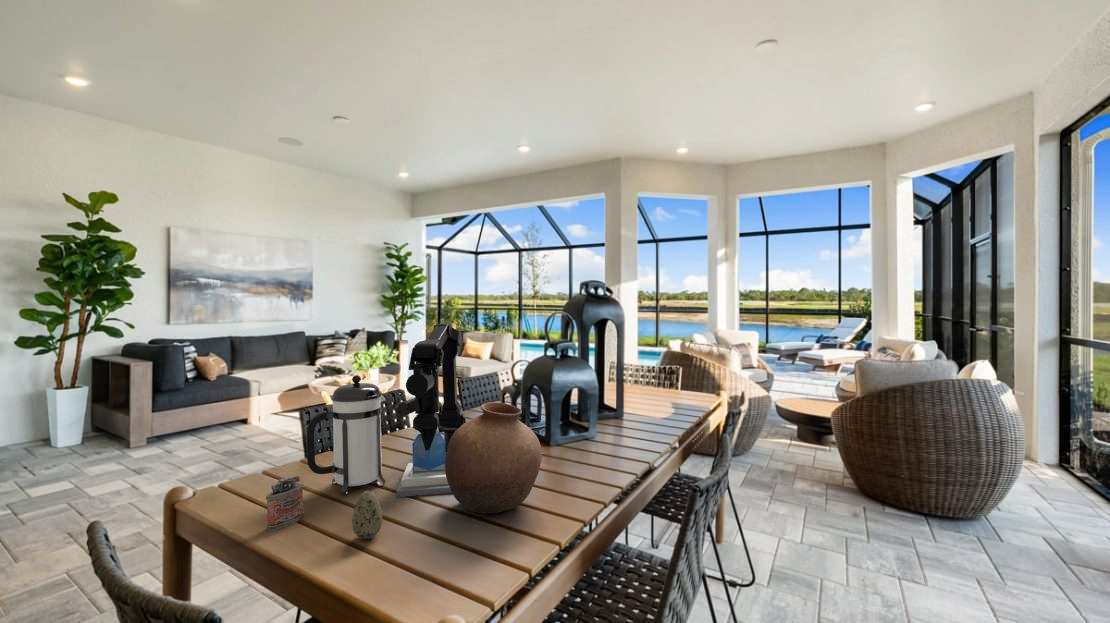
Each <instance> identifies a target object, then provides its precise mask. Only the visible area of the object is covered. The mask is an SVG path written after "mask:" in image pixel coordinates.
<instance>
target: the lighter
mask: <svg viewBox="0 0 1110 623" xmlns="http://www.w3.org/2000/svg"><path fill="white" fill-rule="evenodd" d="M298 482H301V477H300V475H298V474H297V475H293V476H290V477H288V478H280V479H279V480H278V481H277V482H274V483H271V489H272V490H271V492H269V493H267V494H266V495H265V498H266V505H267V507H266V510H267V513H266V514H267V524H266V530H268V531H275V530H279V529H281V528H284V527H287V526H290V525H293V524H294V523H297V522H299V521H300V519H301V520H303V519H304V518H305V512H304V492H303V490H304V484H302V483H298ZM295 483H297V484H295ZM303 517H304V518H303ZM302 518H303V519H302ZM298 520H299V521H298ZM289 524H290V525H289Z"/></svg>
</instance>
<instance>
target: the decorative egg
mask: <svg viewBox="0 0 1110 623" xmlns="http://www.w3.org/2000/svg"><path fill="white" fill-rule="evenodd" d="M382 524H383V512H382V507H381V504H380V502H379V499H378V496H376V494H375V493H374V492H373V491H372V490H371V491H370V490H365V491H363V492H362V493H361V494H360V495H359V497H358V498H357V500H356V502H355V505H354V509H353V512H352V517H351V525H352V530H353V533H354V534H355V535H356V537H358V538H359V539H362V540H369V539H372V538H374V537H375V536H376V535H377V534H378V533H379V531H380V530H381V527H382Z"/></svg>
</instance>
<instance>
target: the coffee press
mask: <svg viewBox="0 0 1110 623" xmlns="http://www.w3.org/2000/svg"><path fill="white" fill-rule="evenodd" d="M361 380H362V378H361V376H360V375H358V374H357V375H353V376H352V379H351V381H352V382H353V383H349V384H344V385H340V386H338V387H336V389H334V391H333V393H332V395H330V400H331V402H332V409H331V411H329V412H325V411H324V412H321V413H318V414H316V415H314V416H313V417H312V418H311V419H310V421H309V423H308V424H307V428H306V433H305V434H306V437H305V438H306V440H305V441H306V462H307V465H308V468H309V469H310V471H311V472H313V473H315V474H318V475H327V474H334V477H333V479H331V483H332V484H333V482H335V481H336V482H337V484H338V485H340V486H342V487H341V491H340V492H341V495H346V492H349V493H350V490H351V489H352V487H359V486H364V485H367V484H370V483H375V484H376V485H378V486H379V487H383V485H385V484H386V479H385V478H384V477H383V474H382V472H383V471H382V470H383V469H382V468H383V466H382V464H383V463H382V459H383V458H382V426H381V425H382V418H381V416H382V415H381V414H382V404H381V403H382V402H386V397H385V396H383V395H382V393H383V392H382V391H381V390H380V388H379V387H378V386H377V385H375V384H373V383H370V382H369V383H367V382H366V383H365V382H362V383H361ZM327 419H332V423H333V424H332V429H333V433H332V434H333V437H332V438H333V463H332V464H331V465H330V466H318V465H317V464H316V456H315V454H316V453H315V451H316V450H315V449H316V447H315V432H316V430H315V429H316V427H317V425H318V424H319V423H320V422H323V421H324V420H327ZM379 479H380V480H379ZM381 483H382V484H383V485H382V486H380V484H381Z"/></svg>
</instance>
